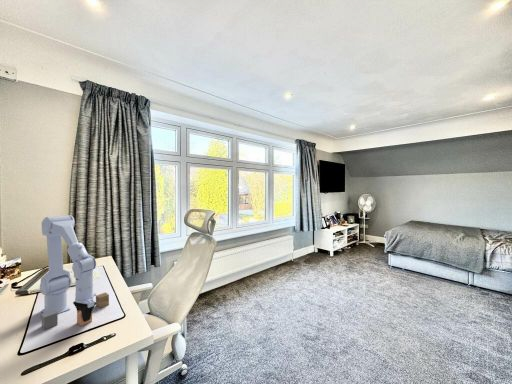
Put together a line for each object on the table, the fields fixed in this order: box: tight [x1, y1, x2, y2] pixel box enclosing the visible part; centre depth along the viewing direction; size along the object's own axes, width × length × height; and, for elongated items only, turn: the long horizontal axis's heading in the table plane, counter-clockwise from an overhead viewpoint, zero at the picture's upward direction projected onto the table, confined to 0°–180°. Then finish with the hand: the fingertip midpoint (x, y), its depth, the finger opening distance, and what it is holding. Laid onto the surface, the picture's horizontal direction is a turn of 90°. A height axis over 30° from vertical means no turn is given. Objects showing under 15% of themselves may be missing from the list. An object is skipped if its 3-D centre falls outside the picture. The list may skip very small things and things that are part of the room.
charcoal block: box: [41, 310, 59, 331], centre depth 90 cm, size 4×4×5 cm
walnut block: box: [95, 292, 110, 309], centre depth 106 cm, size 4×4×5 cm
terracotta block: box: [76, 310, 93, 327], centre depth 92 cm, size 4×4×5 cm
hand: (84, 318), depth 92 cm, fingers closed on terracotta block, 4 cm apart
